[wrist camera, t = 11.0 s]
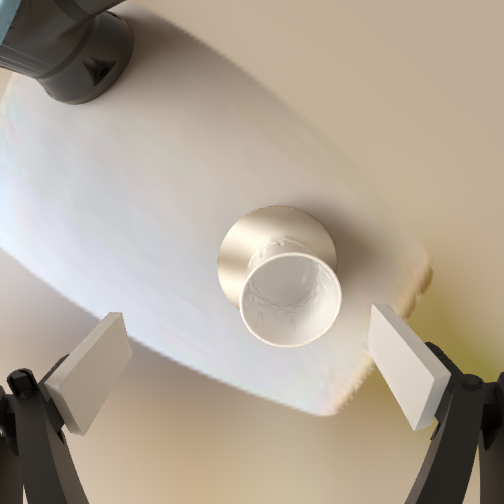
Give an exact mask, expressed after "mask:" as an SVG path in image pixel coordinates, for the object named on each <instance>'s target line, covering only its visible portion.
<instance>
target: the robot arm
mask: <svg viewBox="0 0 504 504" xmlns="http://www.w3.org/2000/svg"><path fill="white" fill-rule="evenodd" d="M124 1H126V0H0V67H1V68H5V69H8V70H11V71H14V72H17V73H20V74H23V75H26V76H29V77H32V78H35V79H36V80H37V81H38V82H39V83H40V84H41V85H42V86H43V87H44V89H45V91H46V92H47V93H48V95H49V96H51V97H52V98H53V99H55V100H57V101H60V102H63V103H66V104H81V103H85V102H87V101H90V100H92V99H94V98H96V97H97V96H99V95H100V94H102V93H103V92H105V91H106V90H107V89H108V88H109V87H110V86H111V85H112V84H113V83H114V82H115V81H116V80H117V79H118V77H119V76H120V75H121V73H122V72H123V70H124V69H125V67H126V65H127V63H128V61H129V59H130V56H131V53H132V49H133V34H132V31H131V28H130V27H129V25H128V24H127V23H126V22H125V21H124V20H123V19H122V18H121V17H120V16H119V15H117V14H115V13H112V12H109V11H106V10H108V9H110V8H112V7H114V6H116V5H118V4H120V3H122V2H124ZM366 348H367V350H368V351H369V353H370V355H371V356H372V358H373V360H374V361H375V363H376V365H377V367H378V368H379V370H380V372H381V373H382V375H383V377H384V378H385V380H386V382H387V383H388V385H389V387H390V389H391V391H392V392H393V394H394V396H395V398H396V399H397V401H398V403H399V405H400V406H401V408H402V410H403V412H404V414H405V415H406V417H407V419H408V421H409V423H410V424H411V426H412V428H413V430H414V431H417V430H420V429H423V428H427V427H430V425H431V423H432V421H433V418H434V416H435V417H436V419H437V420H438V422H439V423H438V425H437V427H436V429H435V431H434V433H433V435H432V437H431V440H432V441H431V444H430V446H429V449H428V452H427V454H426V457H425V459H424V462H423V464H422V467H421V469H420V472H419V474H418V476H417V478H416V481H415V483H414V485H413V487H412V489H411V491H410V493H409V496H408V498H407V500H406V502H405V504H462V502H463V500H464V497H465V493H466V490H467V486H468V483H469V479H470V476H471V472H472V467H473V463H474V459H475V454H476V450H477V445H478V447H479V460H480V504H504V372H502V373H501V374H500V376H499V378H498V380H497V382H490V383H484V382H483V380H482V379H481V378H479V377H478V376H475V375H472V374H463V373H462V372H461V371H460V370H459V369H458V367H457V366H456V365H455V364H454V363H453V362H452V361H451V360H450V359H448V357H447V356H446V355H445V354H444V352H443V351H442V350H441V349H440V348H439V347H438V346H436V345H434V344H432V343H431V342H426V343H423V341H421V339H420V338H419V337H418V336H417V335H416V334H415V333H414V332H413V331H412V329H411V328H410V327H409V326H408V325H407V324H406V323H405V322H404V321H403V320H402V319H401V318H400V317H399V316H398V315H397V314H396V312H395V311H394V310H393V309H392V308H391V307H390V306H389V305H388V304H387V303H386V302H378V303H372V309H371V318H370V326H369V333H368V341H367V347H366ZM131 357H132V352H131V348H130V344H129V340H128V336H127V332H126V328H125V324H124V320H123V315H122V313H119V312H110V313H109V314H108V315H107V316H106V317H105V318H104V319H103V320H102V321H101V322H100V323H99V324H98V325H97V326H96V327H95V328H94V329H93V330H92V332H90V334H89V335H87V337H86V338H85V339H84V340H83V341H82V342H81V343H80V344H79V345H78V346H77V347H76V348H75V349H74V351H73V352H72V353H71V354H68V355H66V356H64V357H63V358H61V359H60V360H59V361H58V362H57V363H56V364H55V366H53V367H52V369H51V371H49V372H48V373H47V374H46V375H45V376H44V377H43V378H42V380H41V381H40V382H39V383H38V384H37V382H36V380H35V378H34V376H33V373H32V371H31V370H29V369H25V368H23V369H18V370H16V371H14V372H12V373H11V374H10V375H9V376H8V377H7V383H8V385H9V387H10V389H11V390H12V392H13V394H6V393H5V391H4V389H3V387H2V386H0V429H1V431H2V435H1V433H0V504H23V484H24V489H25V493H26V498H27V502H28V504H89V502H88V500H87V498H86V495H85V493H84V490H83V488H82V485H81V483H80V480H79V478H78V475H77V472H76V469H75V467H74V464H73V461H72V458H71V455H70V452H69V448H68V445H67V442H66V439H65V435H64V433H63V431H62V429H61V428H62V426H63V425H64V423H65V425H66V426H67V428H68V430H69V431H70V433H73V434H77V435H81V436H85V434H86V432H87V431H88V429H89V427H90V425H91V423H92V422H93V420H94V418H95V417H96V415H97V413H98V412H99V410H100V408H101V406H102V405H103V403H104V402H105V400H106V398H107V396H108V395H109V393H110V392H111V390H112V388H113V387H114V385H115V383H116V382H117V380H118V378H119V377H120V375H121V373H122V372H123V370H124V369H125V367H126V365H127V364H128V362H129V361H130V359H131Z"/></svg>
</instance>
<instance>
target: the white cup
mask: <svg viewBox="0 0 504 504" xmlns="http://www.w3.org/2000/svg"><path fill="white" fill-rule="evenodd" d="M341 304H342V291H341V286H340V283H339V280H338V278H337V276H336V274H335V273H334V271H333V270H332V269H331V268H330V267H329V266H328V265H327V264H326V263H325V262H324V261H323V260H322V259H321V258H320V257H318V256H317V255H316V254H315V253H314V252H313V251H312V250H311V249H309V248H308V247H307V246H305V245H304V244H302V243H300V242H299V241H298V240H296V239H292V238H289V237H285V236H282V237H276V238H270V239H268V240H267V241H265V242H264V243H262V244H261V245H260V246H258V247H257V249H256V251H255V253H254V254H253V256H252V258H251V260H250V263H249V265H248V268H247V271H246V274H245V278H244V282H243V286H242V289H241V293H240V312H241V315H242V318H243V321H244V323H245V324H246V326H247V328H248V329H249V330H250V331H251V332H252V333H253V334H254V335H255V336H256V337H257V338H259V339H260V340H262V341H263V342H265V343H268V344H270V345H273V346H277V347H285V348H291V347H299V346H303V345H306V344H309V343H311V342H313V341H315V340H317V339H319V338H320V337H321V336H323V335H324V334H325V333H326V332H327V331H328V330H329V329H330V328H331V327H332V325H333V324H334V323H335V321H336V319H337V317H338V315H339V312H340V309H341Z"/></svg>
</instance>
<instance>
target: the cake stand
mask: <svg viewBox="0 0 504 504" xmlns="http://www.w3.org/2000/svg"><path fill="white" fill-rule="evenodd" d="M282 236H285V237H289V238H292V239H296V240H298V241H299V242H300V243H302V244H304V245H305V246H307V247H308V248H309V249H311V250H312V251H313V252H314V253H315V254H316V255H317V256H318V257H320V258H321V259H322V260H323V261H324V262H325V263H326V264H327V265H328V266H329V267H330V268H331V269H332V270H333V271H334V273H335V274H336V269H337V257H336V251H335V247H334V244H333V242H332V240H331V237H330V236H329V234H328V232H327V231H326V230H325V228H324V227H323V226H322V225H321V224H320V223H319V222H318V221H317V220H316V219H314V218H313V217H311V216H310V215H308V214H307V213H305V212H303V211H301V210H298V209H295V208H291V207H286V206H269V207H265V208H260V209H258V210H255V211H253V212H251V213H249V214H247V215H245V216H244V217H242V218H241V219H240V220H239V221H237V222H236V223H235V224H234V225H233V227H232V228H231V229H230V230H229V232H228V233H227V235H226V236H225V238H224V240H223V242H222V245H221V247H220V251H219V255H218V266H217V269H218V277H219V280H220V284H221V286H222V289H223V291H224V293H225V294H226V296H227V297H228V299H229V300H230V301H231V303H232V304H233V305H234V306H235V307H236V308H238V309H239V310H240V293H241V289H242V286H243V282H244V278H245V274H246V271H247V268H248V265H249V263H250V260H251V258H252V256H253V254H254V253H255V251H256V249H257V247H258V246H260V245H261V244H262V243H264V242H265V241H267V240H268V239H270V238H276V237H282Z"/></svg>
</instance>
